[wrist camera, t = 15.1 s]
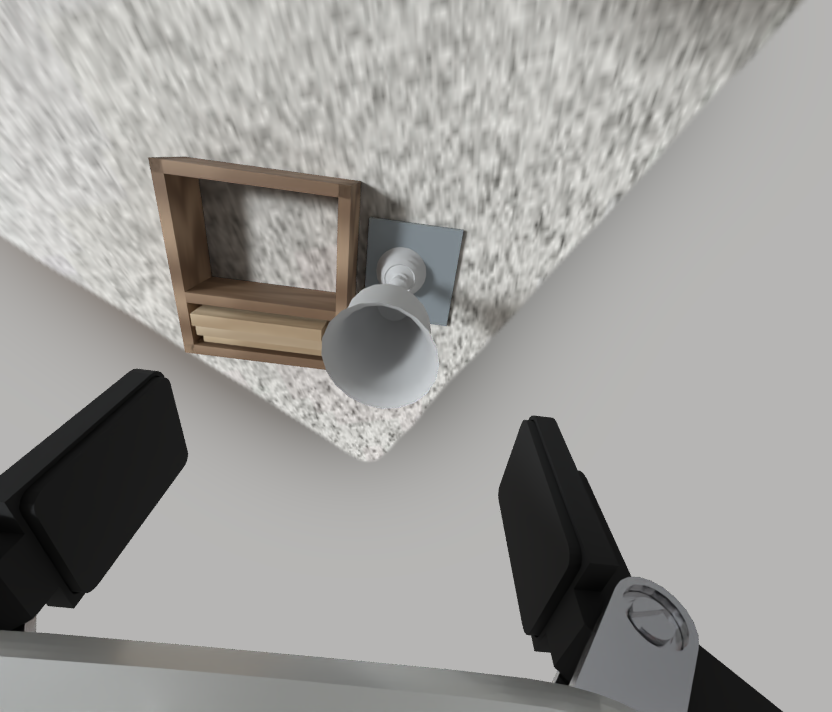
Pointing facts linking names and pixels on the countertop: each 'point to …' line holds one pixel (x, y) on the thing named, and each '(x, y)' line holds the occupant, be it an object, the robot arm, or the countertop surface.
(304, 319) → the offcut stack
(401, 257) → the chalice
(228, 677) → the robot arm
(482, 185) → the countertop surface
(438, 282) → the mat
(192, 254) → the frame
